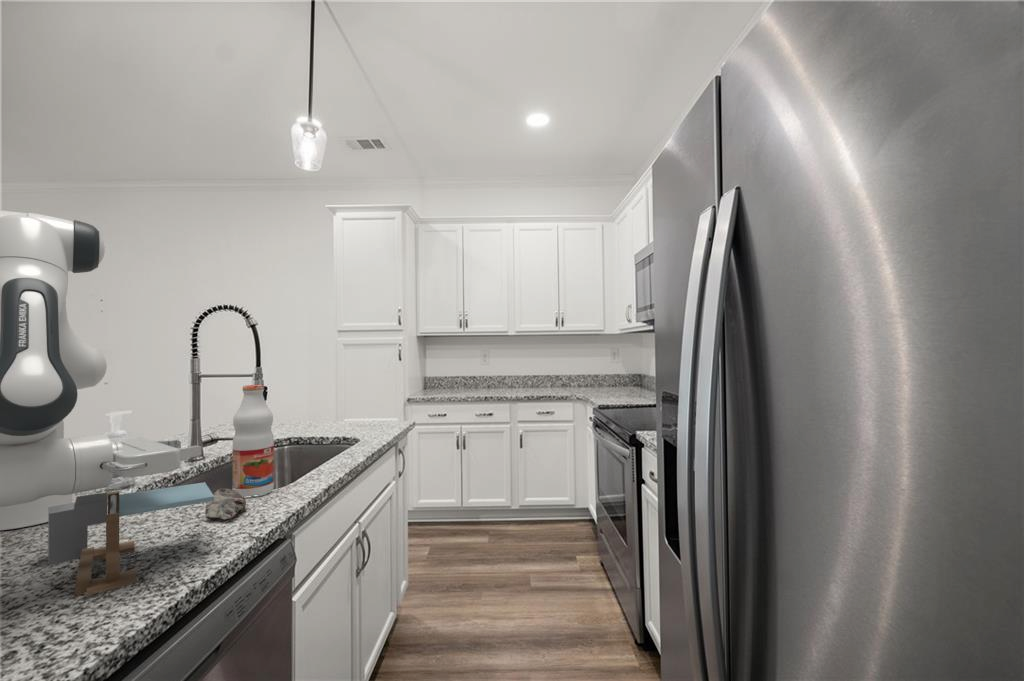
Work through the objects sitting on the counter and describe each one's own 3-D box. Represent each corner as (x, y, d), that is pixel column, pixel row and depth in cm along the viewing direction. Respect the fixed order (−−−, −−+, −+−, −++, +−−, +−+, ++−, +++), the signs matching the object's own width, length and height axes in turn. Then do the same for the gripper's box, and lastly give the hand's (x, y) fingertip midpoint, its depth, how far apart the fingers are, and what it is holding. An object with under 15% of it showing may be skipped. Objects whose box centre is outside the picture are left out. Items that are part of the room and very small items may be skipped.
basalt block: (48, 556, 84) (48, 507, 84) (85, 548, 88) (85, 500, 88) (48, 565, 81) (48, 513, 81) (87, 556, 84) (87, 506, 84)
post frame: (82, 555, 84) (82, 495, 84) (134, 544, 89) (134, 487, 89) (74, 598, 70) (75, 525, 70) (137, 582, 74) (137, 513, 74)
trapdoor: (77, 512, 82) (78, 491, 82) (204, 492, 94) (204, 474, 94) (71, 534, 72) (72, 511, 72) (214, 509, 84) (214, 489, 84)
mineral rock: (237, 523, 100) (237, 502, 100) (194, 527, 98) (195, 506, 98) (254, 501, 114) (254, 483, 114) (217, 505, 112) (217, 486, 112)
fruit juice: (256, 486, 126) (256, 383, 127) (282, 489, 123) (281, 384, 123) (223, 496, 118) (223, 386, 118) (249, 500, 114) (249, 387, 115)
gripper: (112, 450, 70) (213, 435, 81) (76, 436, 82) (169, 425, 93) (112, 492, 70) (213, 472, 81) (76, 472, 82) (169, 457, 93)
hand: (189, 447), depth 87 cm, fingers open, 8 cm apart
